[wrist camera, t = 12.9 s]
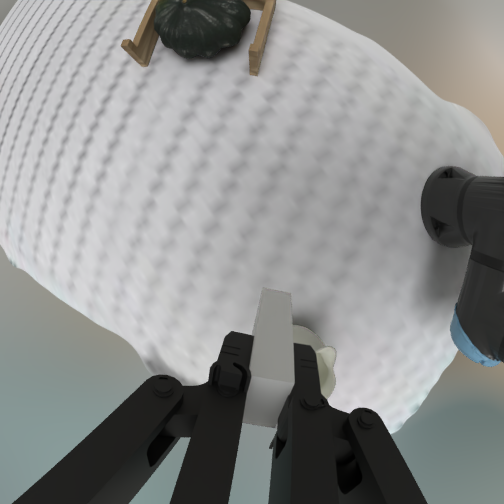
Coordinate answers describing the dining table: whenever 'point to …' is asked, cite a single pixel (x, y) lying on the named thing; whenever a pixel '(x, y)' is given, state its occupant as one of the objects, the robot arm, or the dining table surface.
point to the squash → (200, 25)
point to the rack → (148, 36)
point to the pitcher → (319, 357)
